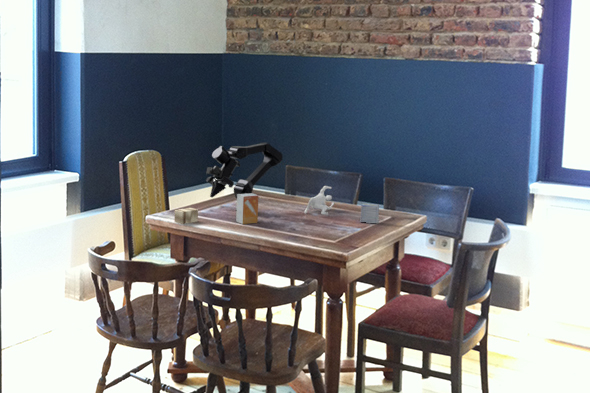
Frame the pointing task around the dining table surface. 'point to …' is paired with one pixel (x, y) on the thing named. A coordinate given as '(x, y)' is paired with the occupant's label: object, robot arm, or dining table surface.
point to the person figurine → (320, 202)
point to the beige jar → (186, 215)
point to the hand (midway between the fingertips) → (211, 197)
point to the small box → (247, 208)
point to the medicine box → (369, 213)
